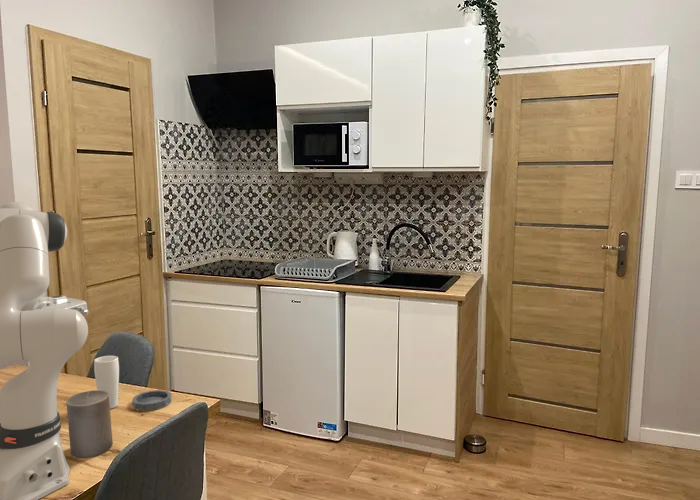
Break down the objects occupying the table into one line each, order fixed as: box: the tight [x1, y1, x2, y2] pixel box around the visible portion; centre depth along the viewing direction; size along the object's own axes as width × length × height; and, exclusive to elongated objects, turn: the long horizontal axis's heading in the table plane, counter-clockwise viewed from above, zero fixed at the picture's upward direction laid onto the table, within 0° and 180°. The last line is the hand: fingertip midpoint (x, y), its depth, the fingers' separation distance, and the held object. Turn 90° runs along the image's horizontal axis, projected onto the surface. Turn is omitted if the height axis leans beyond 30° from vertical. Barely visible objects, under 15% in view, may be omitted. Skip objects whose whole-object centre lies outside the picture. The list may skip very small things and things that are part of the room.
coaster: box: [131, 389, 172, 412], centre depth 164 cm, size 11×11×2 cm
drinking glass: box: [93, 355, 120, 410], centre depth 161 cm, size 7×7×15 cm
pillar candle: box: [65, 390, 114, 459], centre depth 135 cm, size 10×10×15 cm
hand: (74, 316), depth 163 cm, fingers open, 8 cm apart
